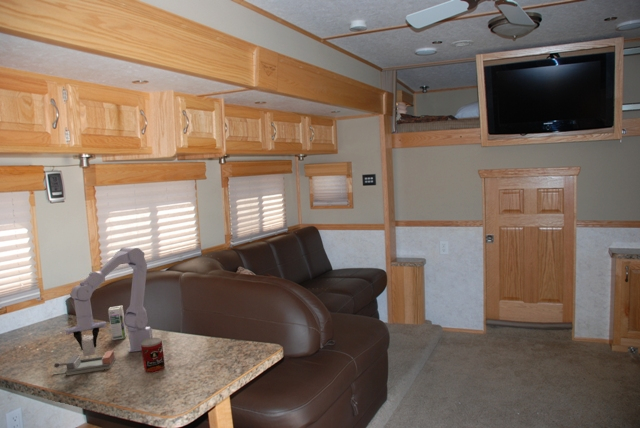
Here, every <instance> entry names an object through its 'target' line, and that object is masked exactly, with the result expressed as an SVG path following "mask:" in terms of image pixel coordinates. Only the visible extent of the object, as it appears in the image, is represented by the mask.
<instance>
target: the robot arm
mask: <svg viewBox="0 0 640 428" xmlns="http://www.w3.org/2000/svg"><path fill="white" fill-rule="evenodd" d="M125 264H127V265H128V266H130V267H131V269H132V270H133V271H132V280H131V281H132V282H131V292H130V302H129V306H128V307H127V309H126V311H125V312H126V313H125V314H124V324H125V326H126V327H127V328H126V329H127V331H128V342H129V349H128V350H127V351H128V352H127V353H134V352H135V353H136V352H142V349H141V342H143V341H144V340H147V339H150V338H154V337H153V329H152V327H151V326H147V325H148V322H149V319H148V316H147V313H148V312H147V310H146V308H145V307H144V302H145V293H146V292H145V291H146V282H147V281H146V280H147V271H148V270H147V269H148V264H147V262H146V258H145V252H144V251H143V250H141V248H139V247H128V246H123V247H121V248H120V249H119V250H117V251H116V252H115V254H114V255H113V257H112V258H111V259H109V260H108V261H107V262H106V264H105V265H103V266H102V267H101V268H100V269H99V270H98V271H96V270H95V271H92V272H90V273H89V274H88V276H86V278H85V279H84V280H82V281H80V282H79V284H77V285H74V286H73V287H72V289H71V290H70V291H71V292H70V293H69V296H70V297H71V298H72V299H73V302H74V311H75V317H76V324H77V325H76V326H74V327H73V326H72V327H69V328H68V327H67V328H65V335H66V336H68V335H71V334H73V337H74V339H75V340H76V342H77V343H78V345H79V346H80V349H81V351H83V348H82V338H83V336H82V332H86V331H91V332H92V333H91V335H93V339H94V348H97V340H98V336H99V332H100V329H102V328H103V329H105V328H107V322H106V321H101V322H94V317H93V311H92V304H91V298H92V295H93V292H94V291H96V290H97V289H98V288H99V287H100V286H101V285H102V284H103V283H104V282H105V279H106V277H107V276H108V275H109V274H111V273H112V272H113V271H114V270H116V269H117V268H118V267H119V266H120V265H125Z"/></svg>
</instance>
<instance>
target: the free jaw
mask: <svg viewBox="0 0 640 428" xmlns="http://www.w3.org/2000/svg"><path fill="white" fill-rule="evenodd" d="M114 355H115V351H114V350H113V349H112V350H107V351H106V352H105V353H104V355H103V358H102V364H110V365H111V363H112V361H113V359H114V358H116V356H115V357H114Z"/></svg>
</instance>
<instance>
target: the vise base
mask: <svg viewBox="0 0 640 428" xmlns="http://www.w3.org/2000/svg"><path fill="white" fill-rule="evenodd" d="M115 355H116V354H114V357H115V358H114V359H113V361H112V363H111V365H110V364H102V358H103V356H104V355H103V356H102V355H101V356H97V357H91V358H90V357H89V358H82V359H81V356H79V355H72V356H71V357H70V358H69V359H68V361H67V362H62V363H58V362H56V363H54V364H53V366H54V368H59V367H60V366H61V367H62V366H66V376H69V375H70V376H71V375H77V374H78V375H79V374H84V373H91V372H97V371H104V369H105V370H110V369H111V368H112V366H113V364H114V362H115V361H116V356H115Z"/></svg>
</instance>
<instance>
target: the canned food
mask: <svg viewBox="0 0 640 428" xmlns="http://www.w3.org/2000/svg"><path fill="white" fill-rule="evenodd" d="M163 348H164V347H163V342H162V338H161V337H153V338H150V339H147V340H144V341H143V342H141V349H142V351H141V354H142V355H141V356H142V364H143V369H144V372H146V373H148V374H149V373H150V374H151V373H157V371H158V372H160V371H161V370H164V369H165V365H166V364H165V355H164V349H163Z"/></svg>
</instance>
